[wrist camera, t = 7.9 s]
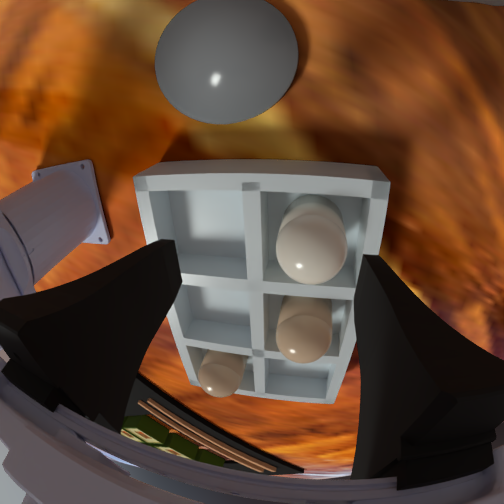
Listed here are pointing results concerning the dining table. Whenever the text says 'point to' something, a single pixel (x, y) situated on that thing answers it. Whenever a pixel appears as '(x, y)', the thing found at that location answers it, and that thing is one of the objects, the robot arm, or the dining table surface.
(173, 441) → the sushi set
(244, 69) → the grey round disc
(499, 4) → the ceramic mug
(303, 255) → the cream egg
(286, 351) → the brown egg
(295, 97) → the dining table surface
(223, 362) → the brown egg
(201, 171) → the egg carton
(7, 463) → the robot arm
